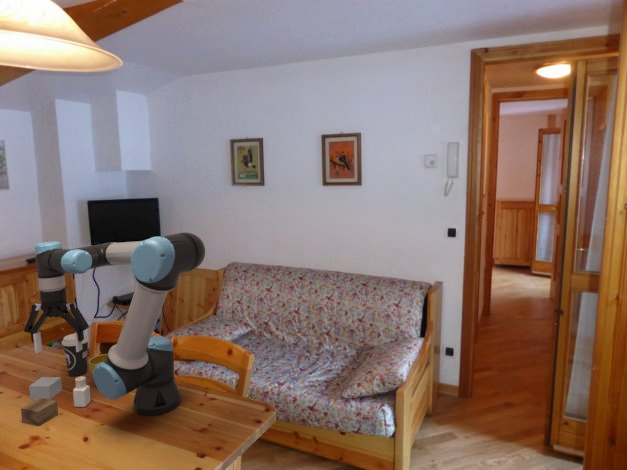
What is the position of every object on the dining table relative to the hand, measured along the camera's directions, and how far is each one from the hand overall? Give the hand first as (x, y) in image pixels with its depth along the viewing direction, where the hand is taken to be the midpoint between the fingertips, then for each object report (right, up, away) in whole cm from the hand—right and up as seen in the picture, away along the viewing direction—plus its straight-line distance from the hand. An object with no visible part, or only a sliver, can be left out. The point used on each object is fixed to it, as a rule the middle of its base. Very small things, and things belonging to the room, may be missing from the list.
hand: (59, 351), depth 151 cm
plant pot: (+7, -17, +18) cm, 25 cm away
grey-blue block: (-10, -18, +10) cm, 23 cm away
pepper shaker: (+7, -19, +2) cm, 20 cm away
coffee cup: (-8, -16, +26) cm, 32 cm away
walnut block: (-2, -20, -6) cm, 21 cm away
